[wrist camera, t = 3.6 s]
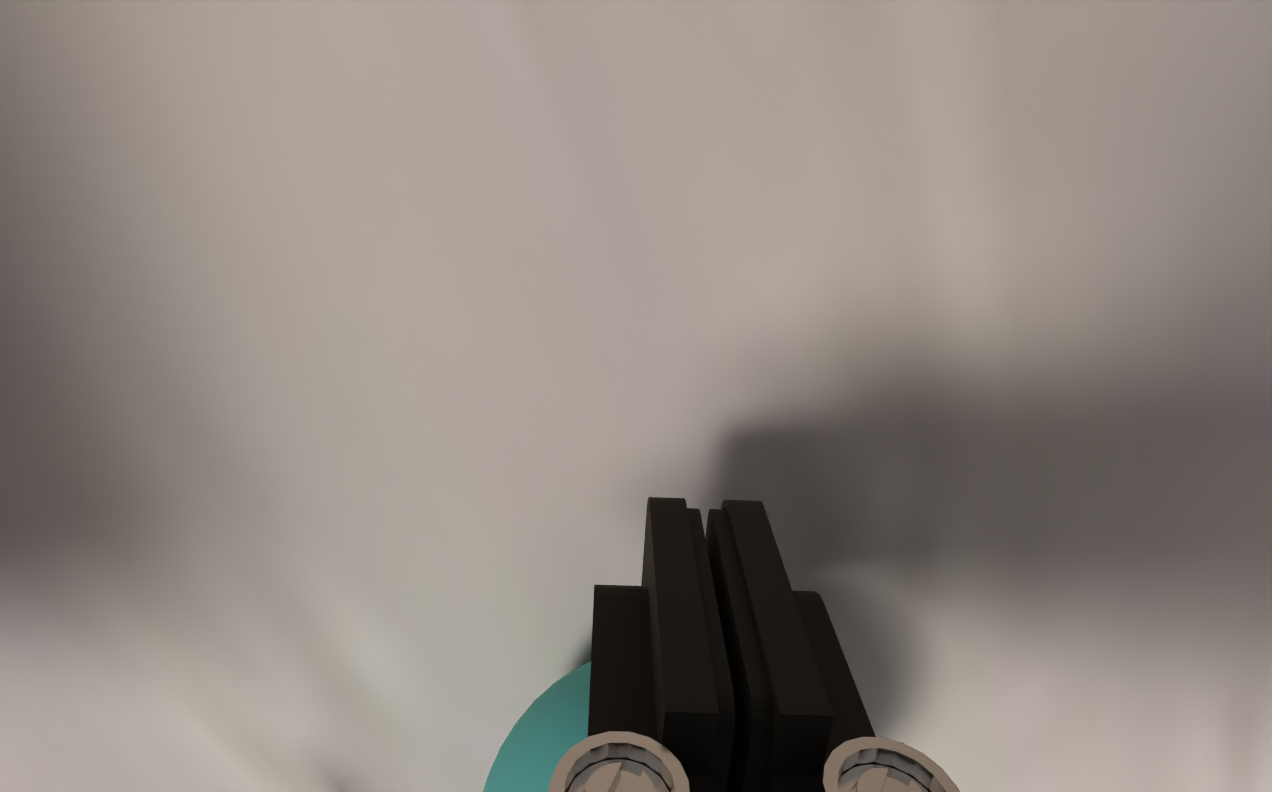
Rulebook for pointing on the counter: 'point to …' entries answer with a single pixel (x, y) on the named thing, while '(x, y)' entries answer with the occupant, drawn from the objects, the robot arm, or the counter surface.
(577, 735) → the ball
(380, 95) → the counter surface
